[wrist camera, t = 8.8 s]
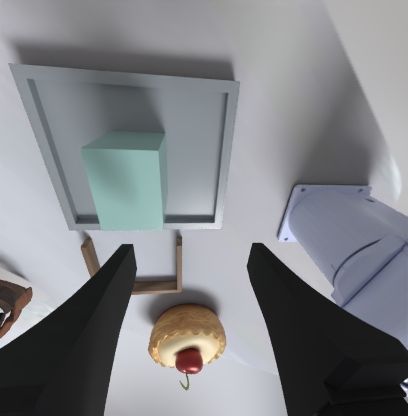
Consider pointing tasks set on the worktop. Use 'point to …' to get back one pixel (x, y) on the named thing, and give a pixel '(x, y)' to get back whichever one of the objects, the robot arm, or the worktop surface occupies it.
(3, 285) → the brown piece
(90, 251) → the dark bent strip
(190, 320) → the pastry
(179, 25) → the worktop surface
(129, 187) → the teal block
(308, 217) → the robot arm
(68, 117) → the grey tray
